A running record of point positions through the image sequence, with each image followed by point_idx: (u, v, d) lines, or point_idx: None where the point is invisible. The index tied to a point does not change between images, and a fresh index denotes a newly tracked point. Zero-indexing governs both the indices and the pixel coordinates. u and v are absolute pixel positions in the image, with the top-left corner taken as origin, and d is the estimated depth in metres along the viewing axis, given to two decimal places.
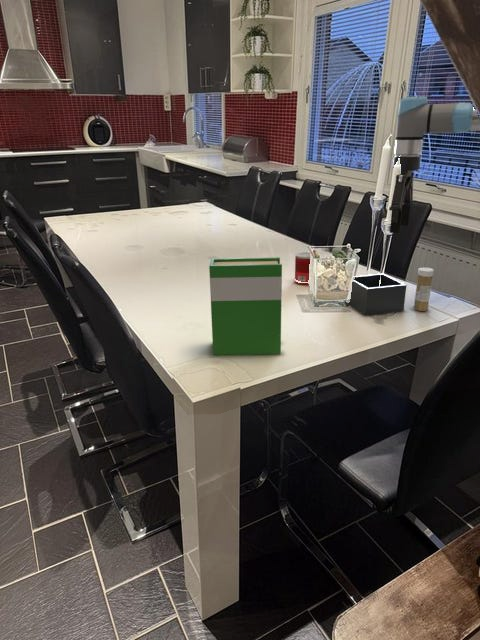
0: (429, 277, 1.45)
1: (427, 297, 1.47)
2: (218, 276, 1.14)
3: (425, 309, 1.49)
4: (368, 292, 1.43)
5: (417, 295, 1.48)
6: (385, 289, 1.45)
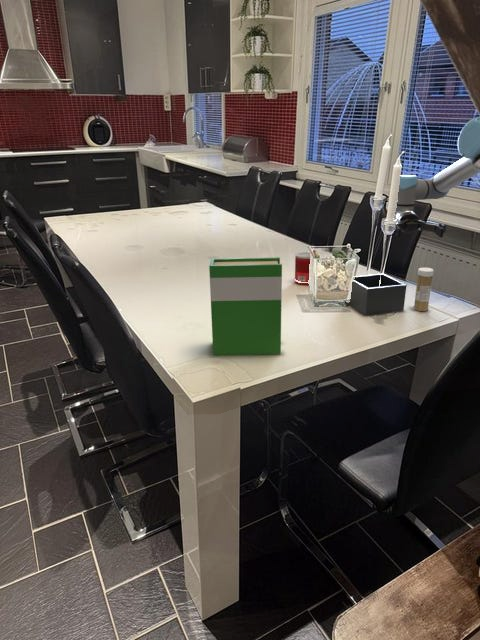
0: (429, 277, 1.45)
1: (427, 297, 1.47)
2: (218, 276, 1.14)
3: (425, 309, 1.49)
4: (368, 292, 1.43)
5: (417, 295, 1.48)
6: (385, 289, 1.45)
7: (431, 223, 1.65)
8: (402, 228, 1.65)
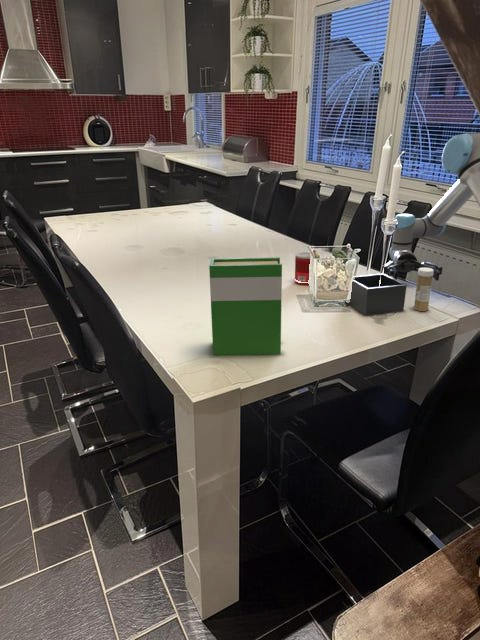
0: (429, 277, 1.45)
1: (427, 297, 1.47)
2: (218, 276, 1.14)
3: (425, 309, 1.49)
4: (368, 292, 1.43)
5: (417, 295, 1.48)
6: (385, 289, 1.45)
7: (428, 264, 1.68)
8: (399, 269, 1.69)
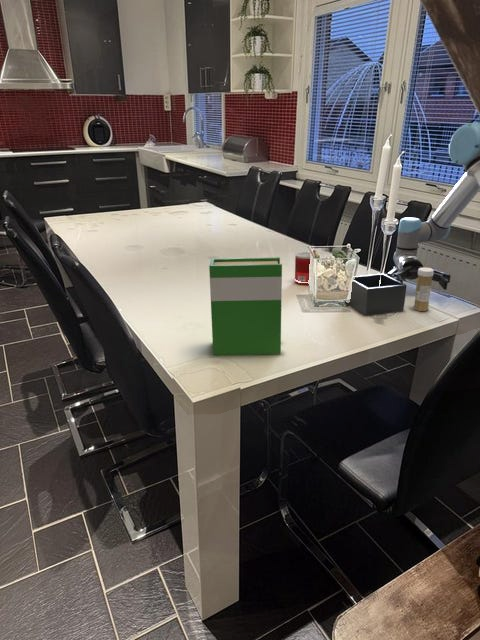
0: (429, 277, 1.45)
1: (427, 297, 1.47)
2: (218, 276, 1.14)
3: (425, 309, 1.49)
4: (368, 292, 1.43)
5: (417, 295, 1.48)
6: (385, 289, 1.45)
7: (435, 271, 1.59)
8: (404, 276, 1.60)
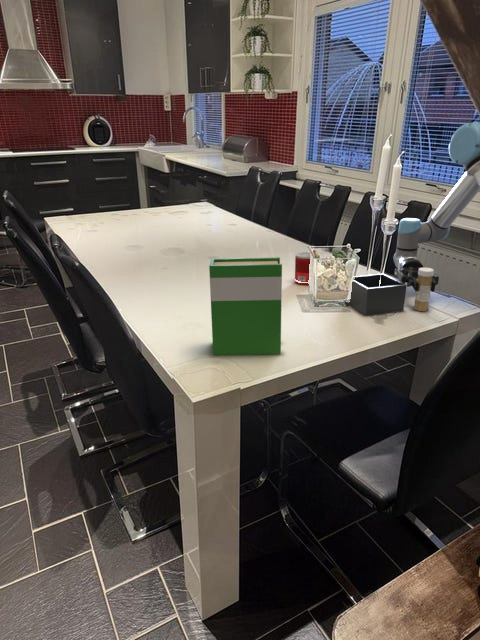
0: (429, 277, 1.45)
1: (427, 297, 1.47)
2: (218, 276, 1.14)
3: (425, 309, 1.49)
4: (368, 292, 1.43)
5: (417, 295, 1.48)
6: (385, 289, 1.45)
7: None
8: None
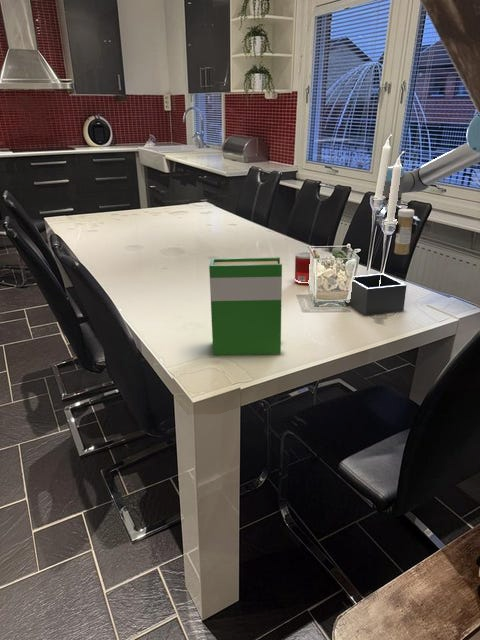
0: (409, 218, 1.40)
1: (407, 239, 1.42)
2: (218, 276, 1.14)
3: (405, 252, 1.44)
4: (368, 292, 1.43)
5: (397, 238, 1.43)
6: (385, 289, 1.45)
7: (413, 218, 1.53)
8: None
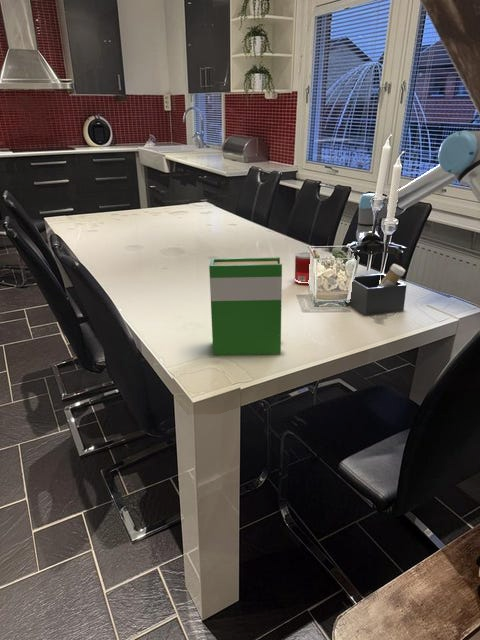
0: (398, 275, 1.46)
1: None
2: (218, 276, 1.14)
3: None
4: (368, 292, 1.43)
5: None
6: (385, 289, 1.45)
7: (392, 245, 1.58)
8: (362, 250, 1.59)
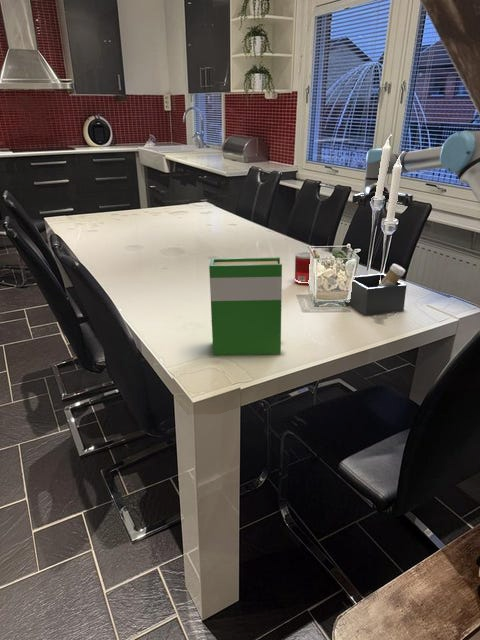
0: (398, 275, 1.46)
1: None
2: (218, 276, 1.14)
3: None
4: (368, 292, 1.43)
5: None
6: (385, 289, 1.45)
7: (399, 194, 1.64)
8: (370, 199, 1.65)
